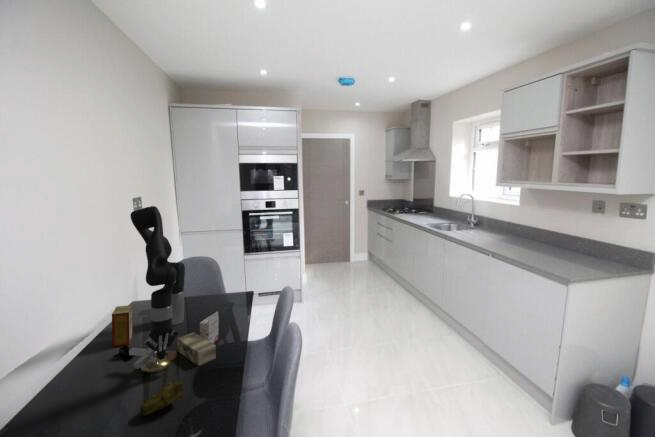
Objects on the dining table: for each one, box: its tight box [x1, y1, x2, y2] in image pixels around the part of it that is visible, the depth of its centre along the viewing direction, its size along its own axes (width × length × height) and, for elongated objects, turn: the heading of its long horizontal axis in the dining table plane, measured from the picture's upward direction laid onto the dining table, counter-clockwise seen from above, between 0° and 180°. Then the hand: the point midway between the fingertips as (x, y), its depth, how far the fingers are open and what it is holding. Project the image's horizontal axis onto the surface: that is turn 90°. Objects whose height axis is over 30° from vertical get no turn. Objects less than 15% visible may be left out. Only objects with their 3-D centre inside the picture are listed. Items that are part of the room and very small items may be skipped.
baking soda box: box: [111, 304, 134, 348], centre depth 143 cm, size 10×6×16 cm
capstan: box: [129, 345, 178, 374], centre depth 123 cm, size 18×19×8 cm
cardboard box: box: [176, 331, 217, 367], centre depth 135 cm, size 18×9×6 cm, turn 53°
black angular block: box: [111, 345, 135, 363], centre depth 132 cm, size 12×7×5 cm, turn 64°
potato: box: [139, 380, 185, 416], centre depth 103 cm, size 8×13×8 cm, turn 115°
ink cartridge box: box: [199, 310, 219, 344], centre depth 146 cm, size 9×5×15 cm, turn 168°
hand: (161, 358), depth 120 cm, fingers closed
